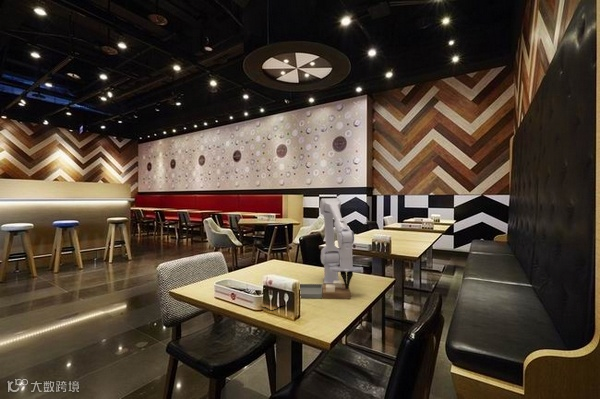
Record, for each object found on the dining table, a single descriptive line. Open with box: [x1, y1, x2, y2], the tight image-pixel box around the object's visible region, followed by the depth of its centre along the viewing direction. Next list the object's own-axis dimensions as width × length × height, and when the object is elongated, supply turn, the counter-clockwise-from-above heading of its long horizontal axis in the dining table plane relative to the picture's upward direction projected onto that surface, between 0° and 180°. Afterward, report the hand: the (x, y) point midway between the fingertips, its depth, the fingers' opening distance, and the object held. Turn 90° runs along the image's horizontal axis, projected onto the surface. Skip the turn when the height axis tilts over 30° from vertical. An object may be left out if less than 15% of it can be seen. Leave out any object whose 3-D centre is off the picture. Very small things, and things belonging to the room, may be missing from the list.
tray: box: [299, 283, 323, 300], centre depth 123 cm, size 14×12×2 cm
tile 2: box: [333, 280, 343, 288], centre depth 125 cm, size 4×4×2 cm
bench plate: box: [322, 282, 351, 300], centre depth 122 cm, size 14×12×2 cm
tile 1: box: [326, 284, 335, 292], centre depth 119 cm, size 4×4×2 cm
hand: (346, 288), depth 119 cm, fingers closed
